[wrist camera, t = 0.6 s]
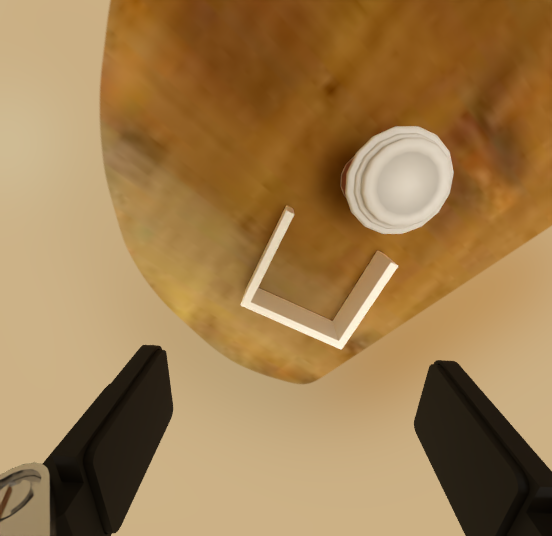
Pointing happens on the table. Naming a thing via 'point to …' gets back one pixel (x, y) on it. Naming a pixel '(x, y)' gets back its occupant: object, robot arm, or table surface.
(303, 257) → the table surface
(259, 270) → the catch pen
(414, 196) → the coffee cup
